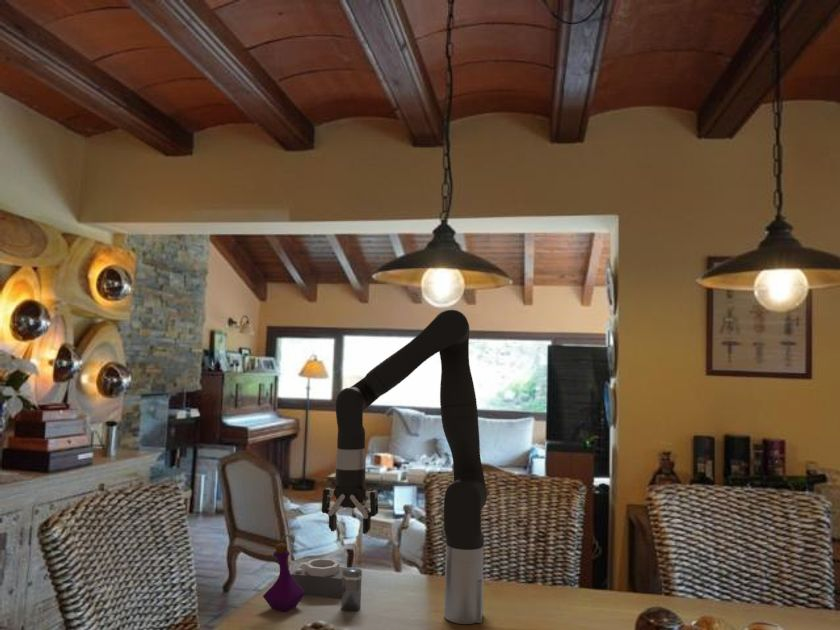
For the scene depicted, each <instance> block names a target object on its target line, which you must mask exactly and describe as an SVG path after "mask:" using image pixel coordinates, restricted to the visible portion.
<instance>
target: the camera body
mask: <svg viewBox="0 0 840 630" xmlns="http://www.w3.org/2000/svg"><path fill="white" fill-rule="evenodd" d="M347 568H348V567H343V566H340V562H339V561H337V560H336V559H334V558H323V557H322V558H315V559H310V560H309V561H307V562H306V563H303V564H301V565H300V566H299V567H298V568H296V569H295V570H294V571H293V572H292V573H290V574H291V576H292V577H293V579H294V580H295V581H296V582H297V583H298V585H299V586H300V587H301V588H302V589H303V590H304V591H305V595H304V596H309V597H320V598H330V599H331V598H332V599H341V598H342V572H343V570H344V569H347Z"/></svg>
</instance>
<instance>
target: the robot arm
mask: <svg viewBox="0 0 840 630" xmlns="http://www.w3.org/2000/svg"><path fill="white" fill-rule="evenodd" d="M469 341H470V323H469V322H468V318H467V317H466V316H465V314H464V313H463V312H461V311H459V310H457V309H453V308H449V309H445V310H442V311H440V312H439V313H438V314H436V316H435V317H434V319H433V320H432V321H431V322H430V323H428V325H427V326H425V328H424V329H423V330H422V331H421V332H420V333H418V335H416V336H415V337H413V339H411V341H409V342H408V343H406V344H405V345H403V347H401V348H400V349H399V350H397V351H396V352H394V353H393V354H391V355H389V356H388V357H387V358H385V359H384V360H383V361H382V362H379V364H377V365H376V366H375V367H373V368H372V369H370V370H369V372H367V373H366V375H365V376H364V377H363V378H361V379H360V380H359V381H357V382H356V383H354V384H353V385H352V386H350V387H346V388H343V389H342V390H340V391H339V393H338V394H337V396H336V399H335V400H336V401H335V415H336V418H335V419H336V425H337V442H336V443H337V447H336V455H335V456H336V457H335V481H334V482H335V483H334V484H335V487H334V489H333V488H331V487H326V488H324V489H323V492H322V501H321V512H322V514H326V515H328V528H329V530H330V532H335V531H337V525H338V523H337V518H338V517H337V515H338V514H336V513H337V512H338V511H339V510H340V508H341V507H342V508H350V509H357V511H359V512H360V513H361V515H362V516H363V519H362V534H365V535H366V534H368V533H369V531H370V530H371V526H372V525H371V521H372V519H371V518H372V517H375V516H377V515H378V514H379V500H378V499H379V498H378V496H379V495H378V490H376V489H375V490H373V491H371V490H370V491H369V490H368V491H367V490H366V466H367V465H366V464H367V463H366V431H365V427H364V425H363V423H364V422H363V419H364V418H363V417H364V415H363V414H364V413H363V411H365V410H366V409H367V408H368V407H370V406H371V405H372V404H373V403H375V402H376V401H377V400H378V399H379V398H380V397H382V396H384V395H385V394H387V393H388V392H389V391H390V390H392V389H394V388H395V387H396V386H398V385H399V384H400V383H401V382H403V381H404V380H405V379H407V378H408V377H409V376H410V375H411V374H412V373H413V372H415V370H416V369H418V367H420V366H421V365H423V364H424V363H425V362H426V361H427V360H429V359H430V358H431V357H433V356H434V355H435V354H438V353H439V357H440V365H441V366H440V367H441V370H440V371H441V373H440V374H441V375H440V388H439V390H440V391H439V403H440V405H439V406H440V414H441V415H440V416H441V424H442V429H443V433H444V436H445V438H446V442H447V443H448V447H449V450H450V453H451V457H452V465H453V466H452V467H453V482H452V483H450V484H449V485H448V486H447V487H446V491H445V492H444V493H445V494H444V499H443V531H444V535H445V541H446V542H445V571H444V572H445V576H444V604H443V605H444V606H443V608H444V612H443V613H444V615H443V616H444V619H446V620H447V621H449V622H450V623H455V624H460V625H461V624H462V625H471V624H481V623H482V620H483V615H484V587H485V583H484V582H485V581H484V580H485V579H484V578H485V576H484V551H485V550H484V549H485V548H484V547H485V545H484V544H485V541H484V540H485V537H484V533H483V532H482V526H481V525H482V522H481V521H482V510H483V508H484V507H485V506H486V503H487V500H488V489H487V484H486V480H485V476H484V470H483V466H482V465H483V464H482V459H481V447H480V446H481V445H480V444H481V443H480V430H479V429H480V428H479V412H478V404H477V402H478V401H477V397H476V390H475V384H474V381H473V376H472V372H471V371H472V370H471V367H470V354H469V353H470V352H469V351H470V348H469V346H470V345H469V344H470V342H469ZM333 495H334V497H335V499H336V501H335V503H334V504H333V505H332V507H331V498H332V497H333ZM366 497H367V499H368V500H369V505H370V507H368V505H367V504H366V501H365V499H366ZM369 508H370V509H369Z"/></svg>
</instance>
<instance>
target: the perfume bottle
mask: <svg viewBox="0 0 840 630" xmlns="http://www.w3.org/2000/svg"><path fill="white" fill-rule="evenodd" d="M286 538H288V539H289V540H290V541H291V542H292V545H293V544H294V543H295V541H296V539H295V538H296V536H295V534H294V533H287V534H285V535H282V536H281V537H280V539H281V540H280V541H281V542H280V543H277V544H276V545H275V551H273V554H272V555H273V557H275V558H276V559H277V561H278V565H279V575H278V578H277V579H276V581H275V582H274V583H273V584H272V586H271V587H270V588H269V589H268V590H267V591H266V592H265V593H264V594H263V595H262V597H263V599H264V600H265V602H266V603H267V605H269V607H270V608H271V609H272V610H275V611H279V612H281V613H282V612H283V613H287V612H288V611H290V610H293V609H294V608H296V607H297V606H298V604H299V603H300V601H301V600H302V599H303V597H304V596H306V595H305V591H304V590H303V589H302V588H301V587H300V586H299V585H298V583H297V582H296V581H295V580H294V579H293V577H292V576H291V574H292V573H291V571H290V569H289V565H288V561H287V559H288V556H290V554H291V553H290V551H289V550H288V545H287V544H286V543H284V542H283V541H284V540H285V539H286Z"/></svg>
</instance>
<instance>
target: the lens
mask: <svg viewBox="0 0 840 630" xmlns="http://www.w3.org/2000/svg"><path fill="white" fill-rule="evenodd" d="M346 568H347V569H344V570H343V572H342V598H341V603H340V609H341V610H342V611H344V612H346V613H348V612H349V613H350V612H351V613H354V612H357V611H360V610H361V604H362V602H361V600H362V578H363V570H362V569H361V568H357V567H346Z"/></svg>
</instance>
